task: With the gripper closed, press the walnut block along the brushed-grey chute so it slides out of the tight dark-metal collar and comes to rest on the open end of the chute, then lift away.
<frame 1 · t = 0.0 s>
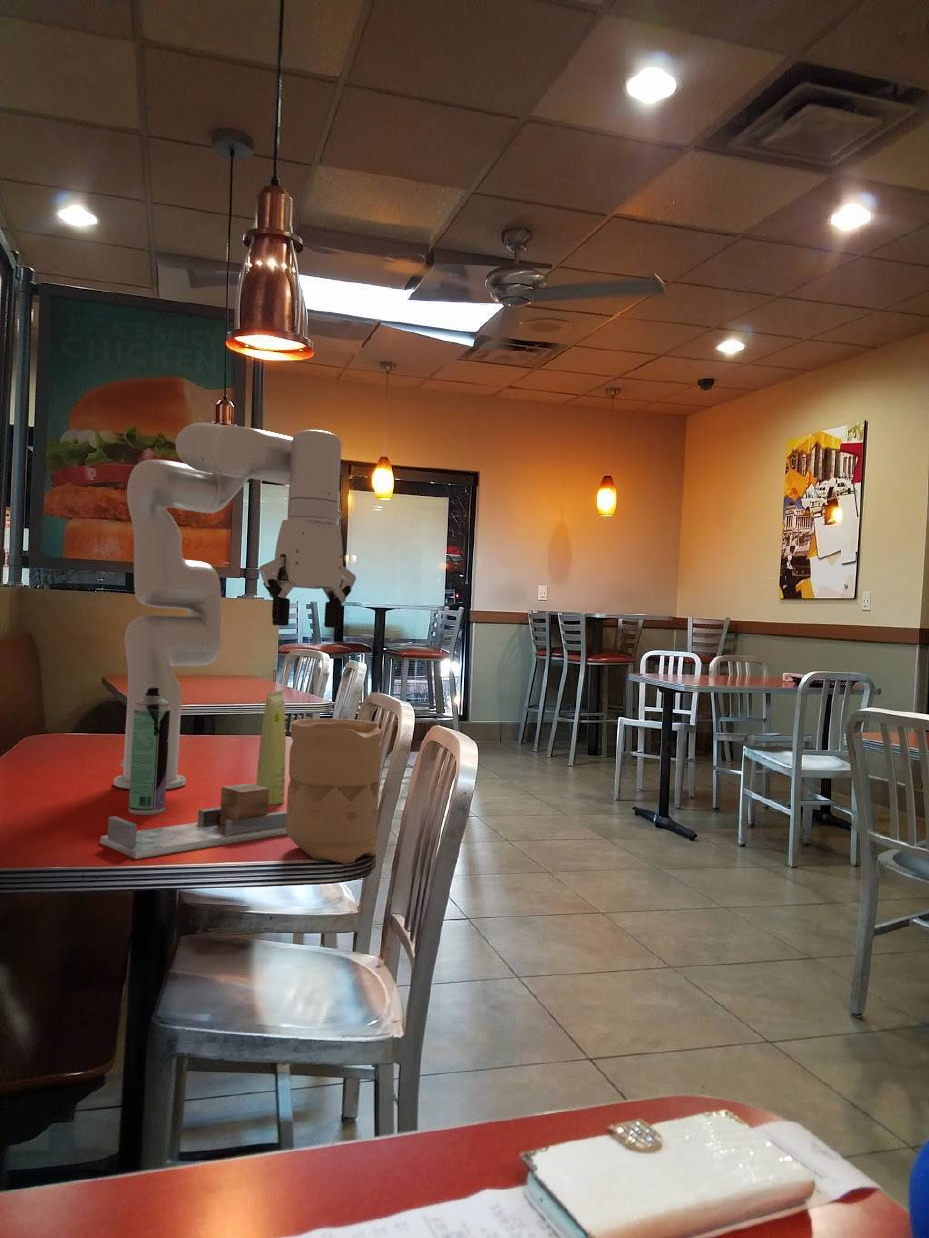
hand: (306, 626, 133), 31 cm above the table, fingers open, 9 cm apart
block: (244, 805, 132), point 4 cm above the table, slide at 0.0 cm
tube: (268, 803, 153), on the table
chute: (201, 837, 127), on the table
container: (330, 853, 122), on the table
spray can: (146, 812, 142), on the table
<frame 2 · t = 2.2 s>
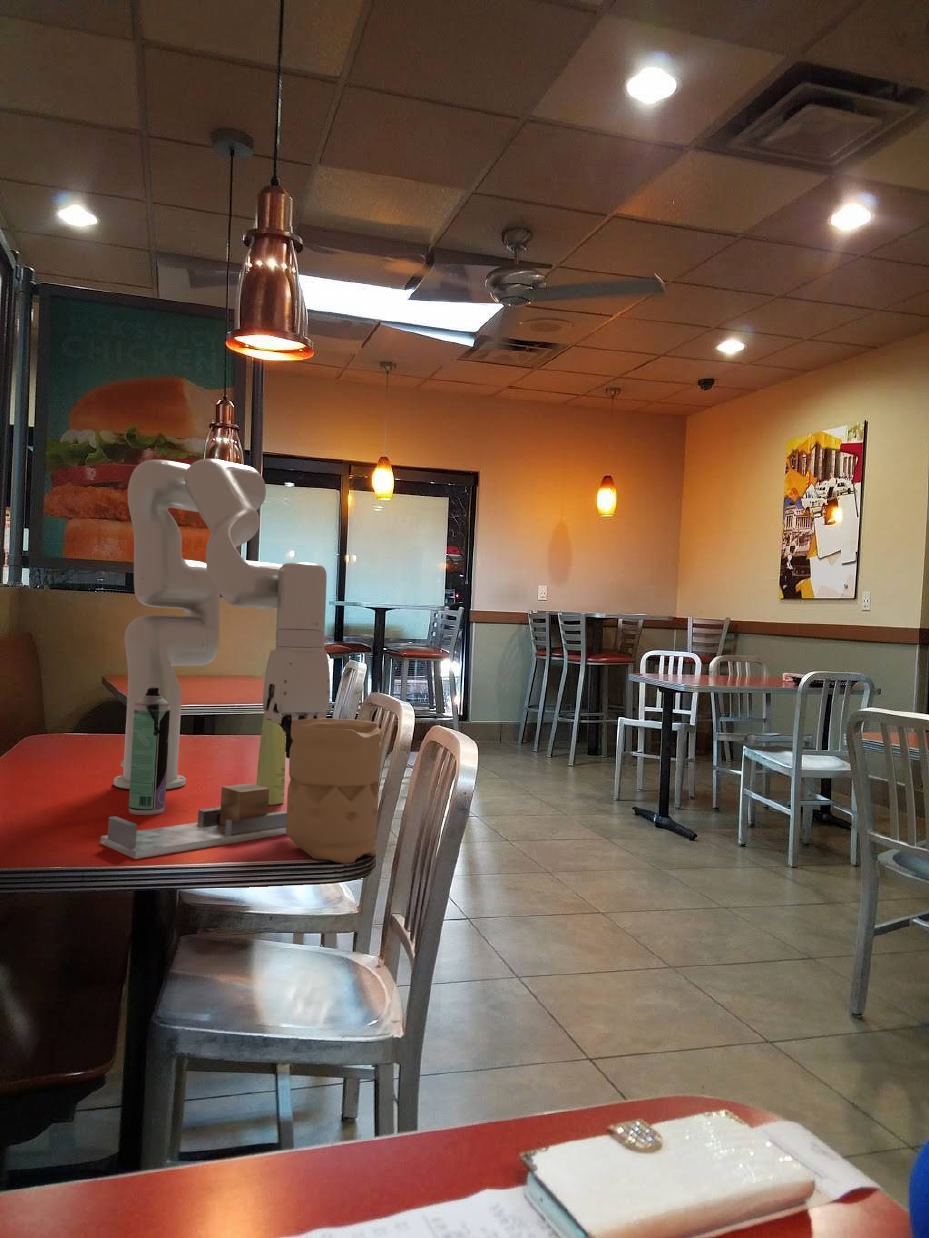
hand: (295, 758, 138), 10 cm above the table, fingers closed
nothing on the table moved.
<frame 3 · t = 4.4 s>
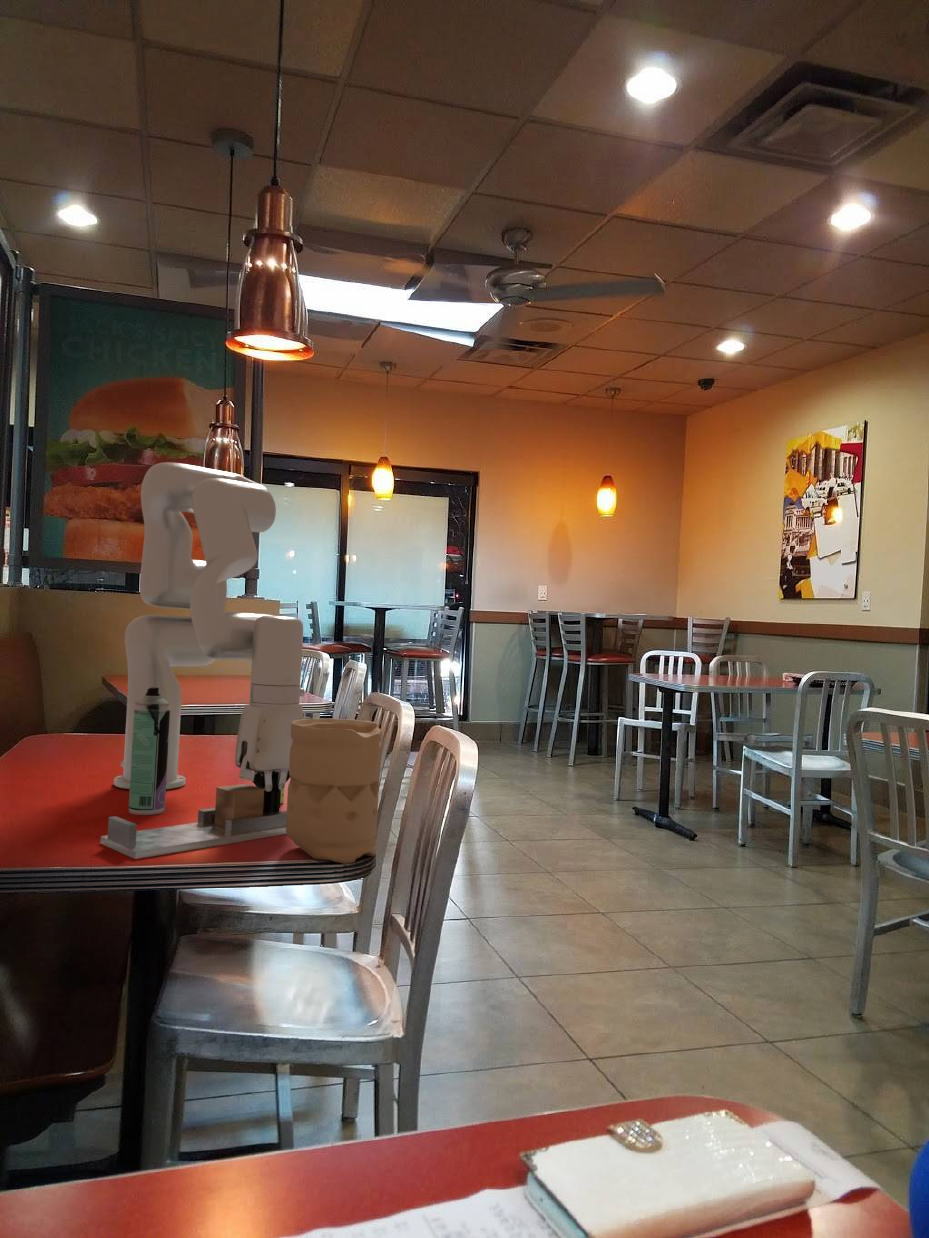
hand: (268, 814, 135), 2 cm above the table, fingers closed
block: (239, 806, 131), point 4 cm above the table, slide at 0.9 cm, touching gripper
everything else where it was.
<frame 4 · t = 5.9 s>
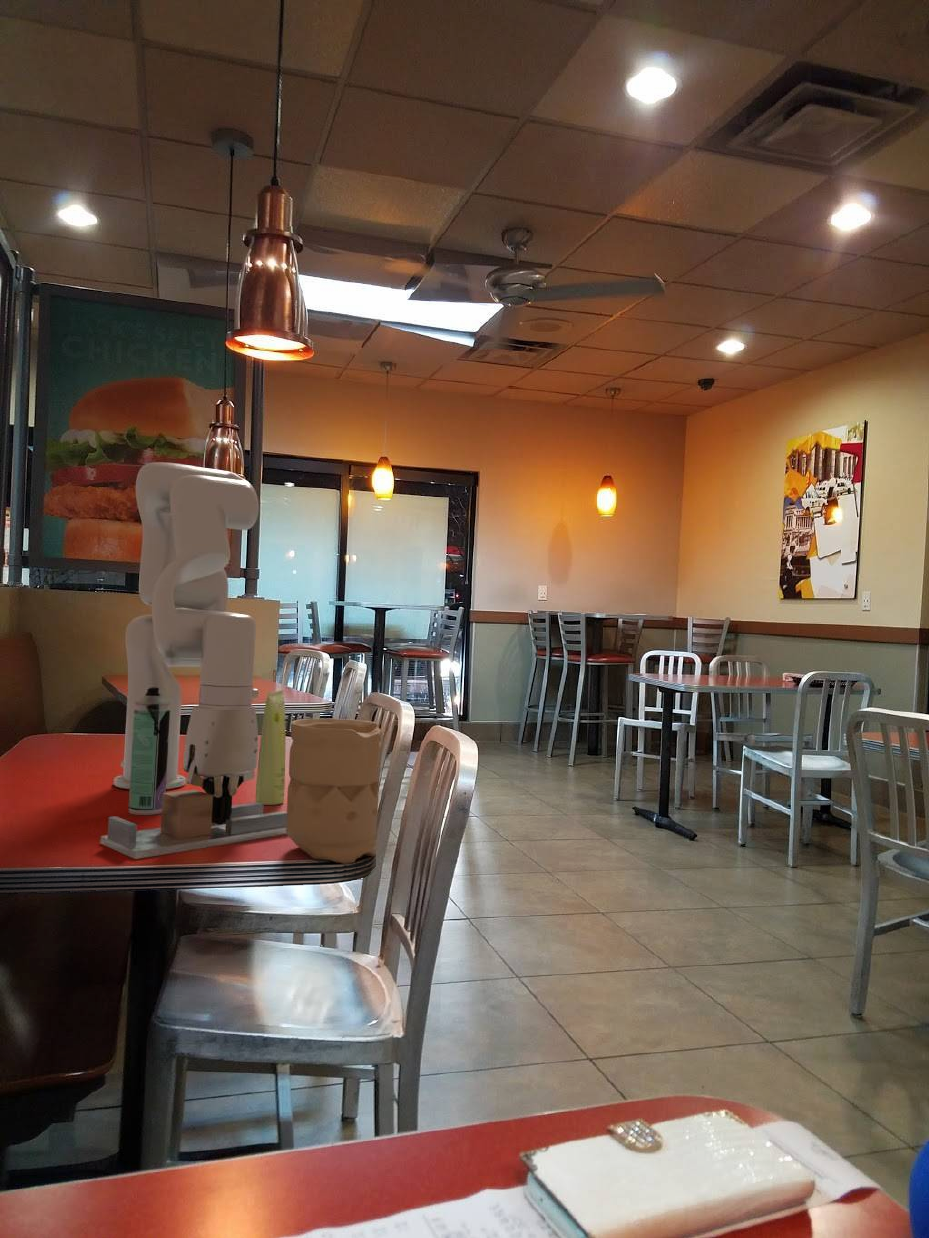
hand: (219, 822, 129), 2 cm above the table, fingers closed
block: (186, 813, 125), point 4 cm above the table, slide at 9.5 cm, touching gripper
everything else where it was.
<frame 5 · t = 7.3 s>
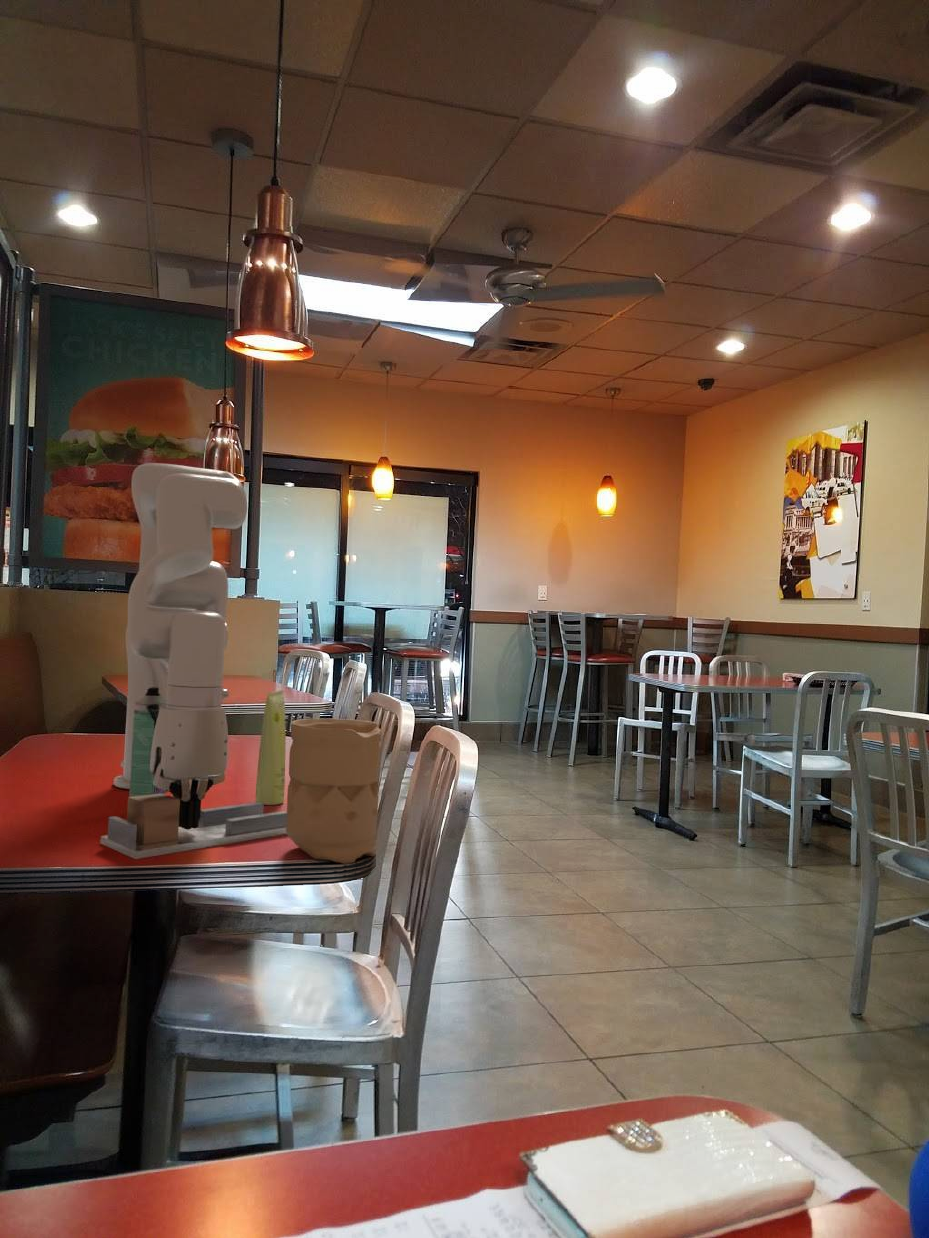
hand: (187, 826, 125), 2 cm above the table, fingers closed
block: (153, 818, 121), point 4 cm above the table, slide at 14.6 cm, touching gripper
everything else where it was.
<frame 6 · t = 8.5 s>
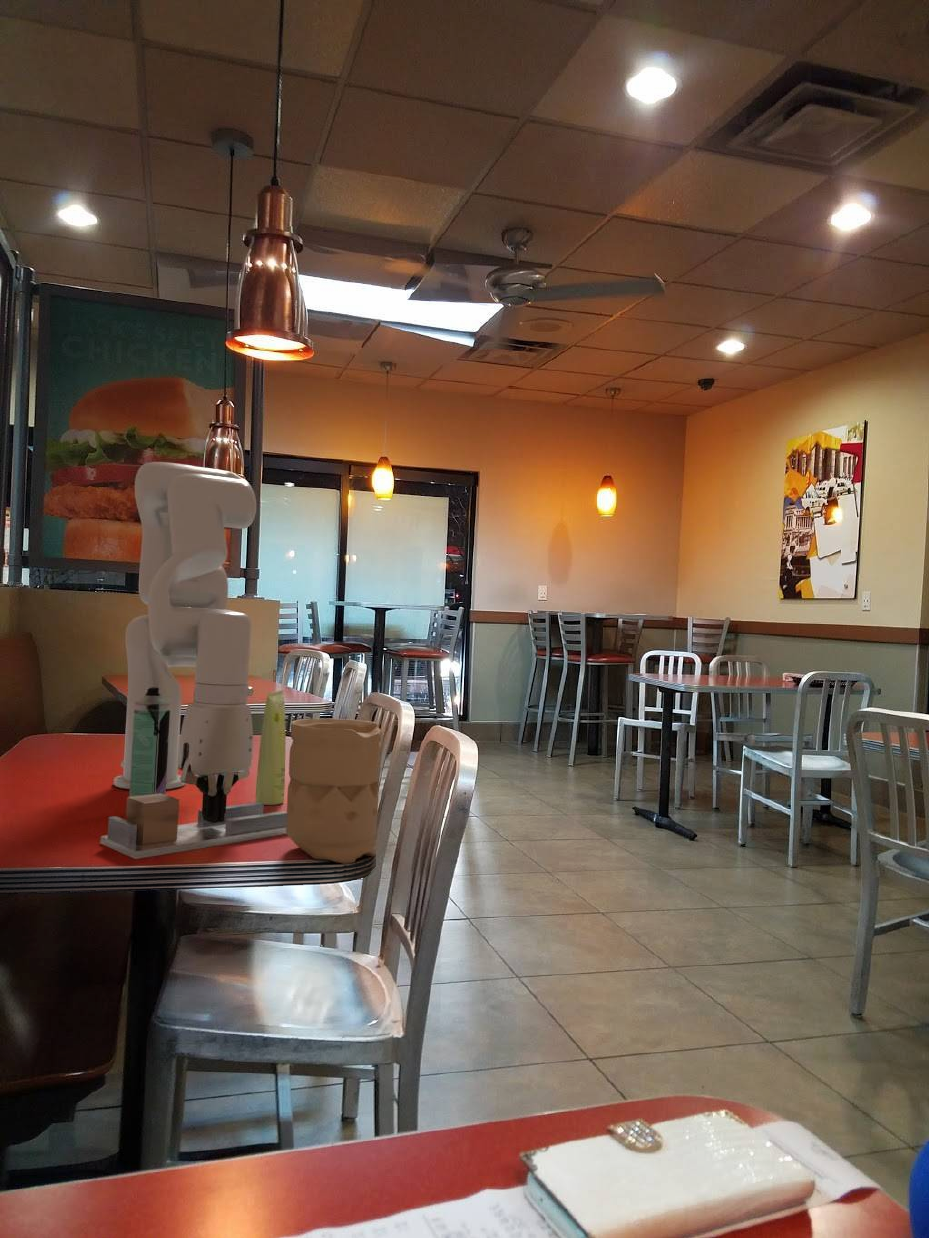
hand: (213, 820, 128), 2 cm above the table, fingers closed
block: (152, 818, 121), point 4 cm above the table, slide at 14.8 cm
everything else where it was.
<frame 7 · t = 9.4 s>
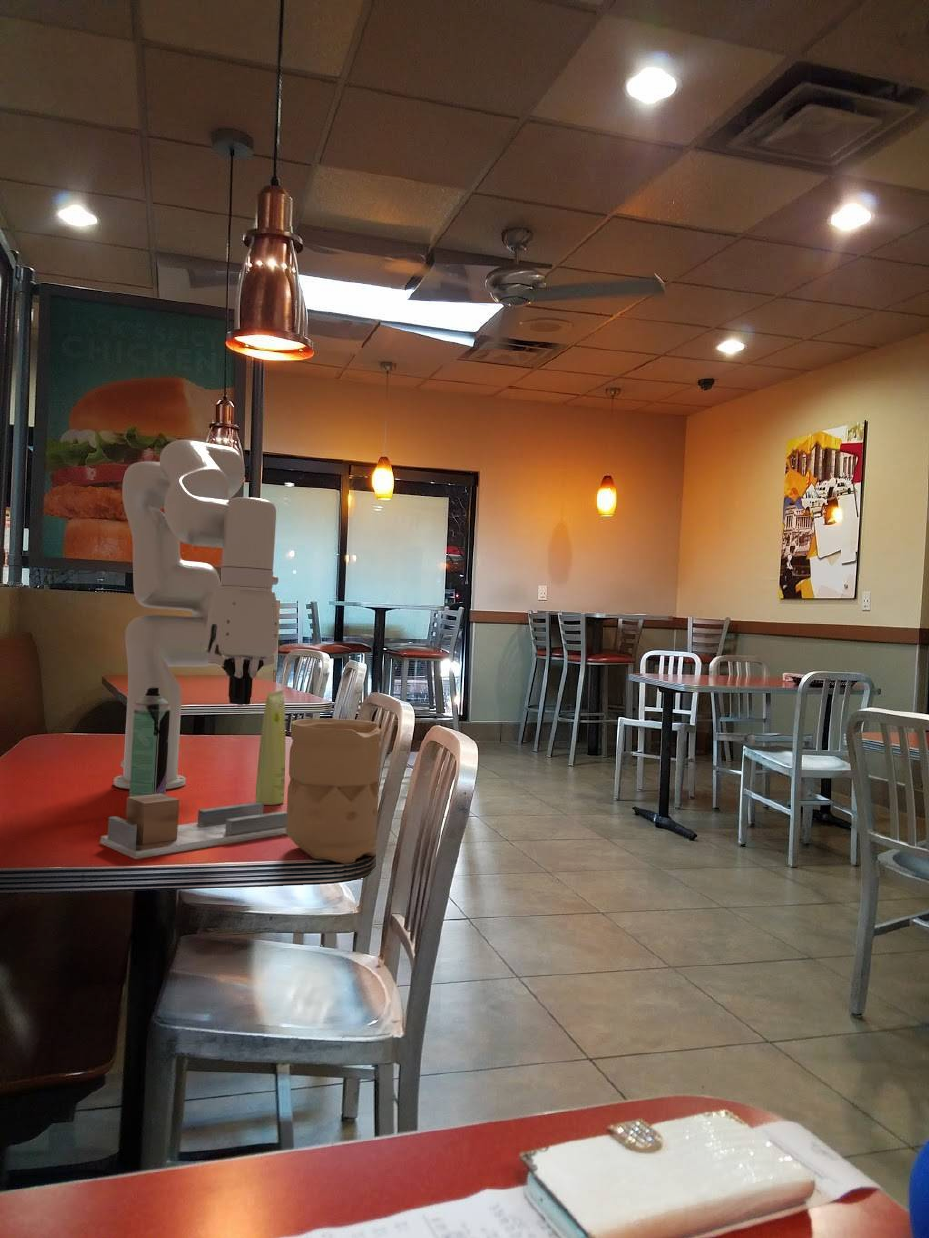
hand: (239, 703, 131), 19 cm above the table, fingers closed
nothing on the table moved.
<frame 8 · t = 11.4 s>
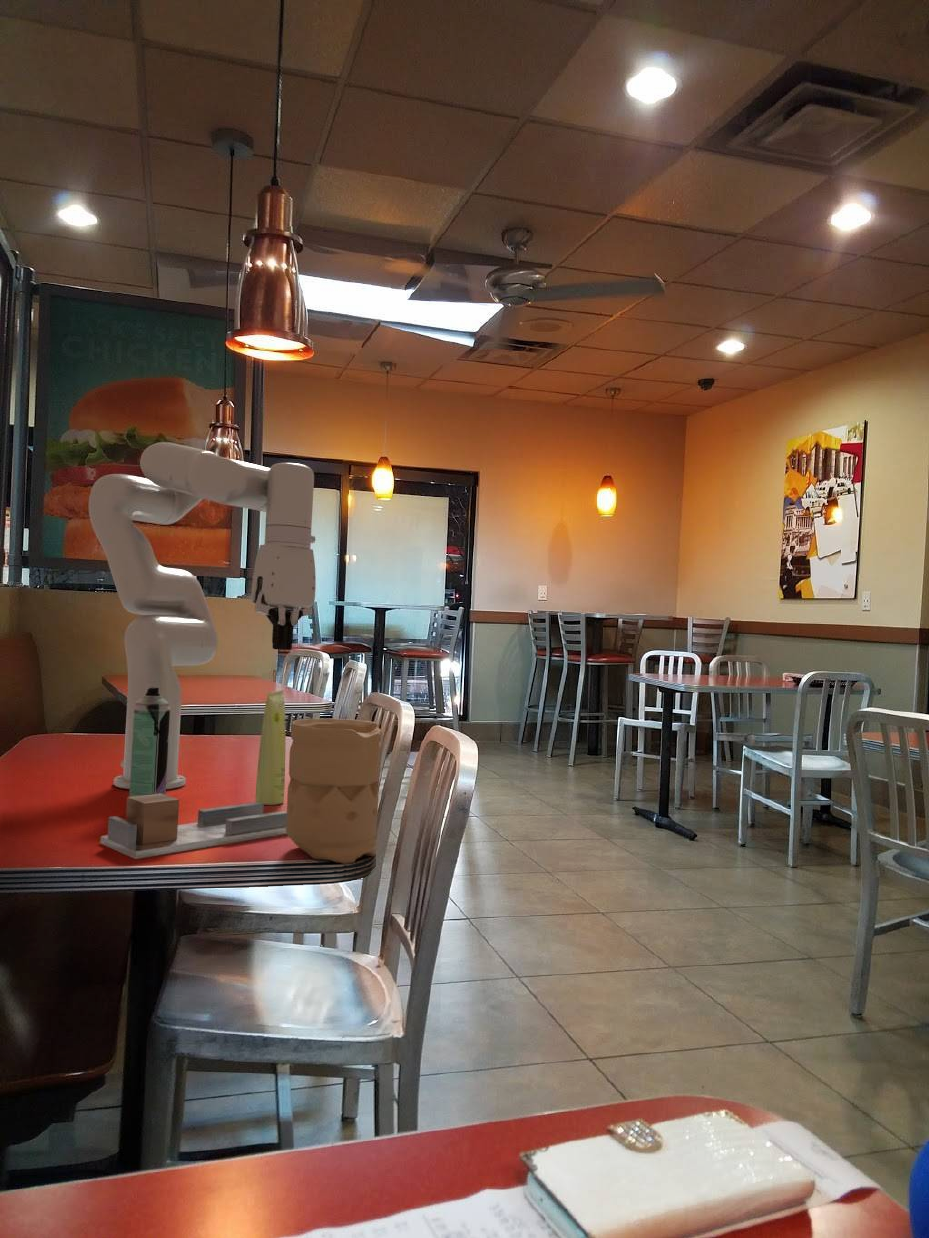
hand: (282, 649, 145), 27 cm above the table, fingers closed
nothing on the table moved.
at the end: block slide at 14.8 cm; the gripper is holding nothing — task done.
